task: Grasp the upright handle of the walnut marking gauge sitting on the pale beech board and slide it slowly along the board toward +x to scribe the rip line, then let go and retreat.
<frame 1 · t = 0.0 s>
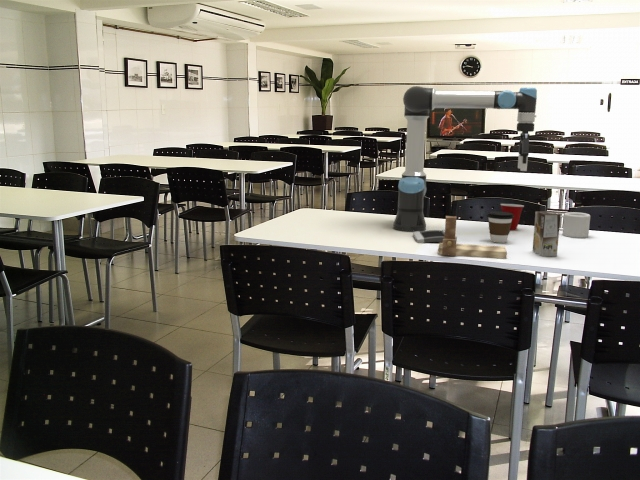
hand: (522, 169, 282), 28 cm above the table, fingers open, 13 cm apart
coffee cup: (498, 241, 260), on the table
coffee box: (544, 254, 237), on the table
plastic cup: (510, 229, 288), on the table
board: (471, 253, 236), on the table
gauge: (450, 234, 235), point 7 cm above the table, slide at 0.0 cm
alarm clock: (433, 241, 262), on the table
mug: (571, 236, 275), on the table
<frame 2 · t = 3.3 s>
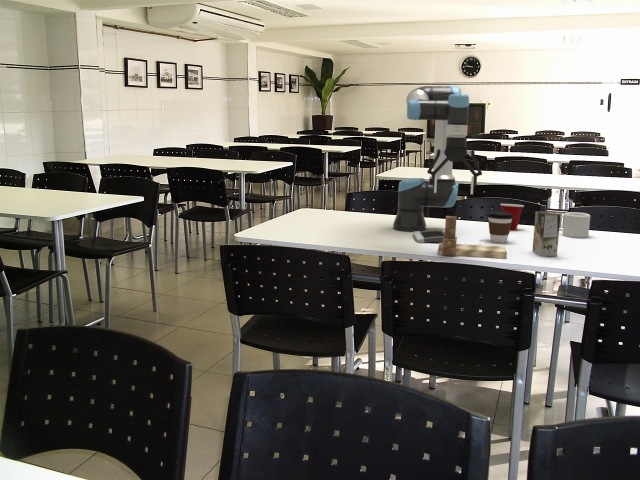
hand: (453, 193, 233), 23 cm above the table, fingers open, 13 cm apart
nothing on the table moved.
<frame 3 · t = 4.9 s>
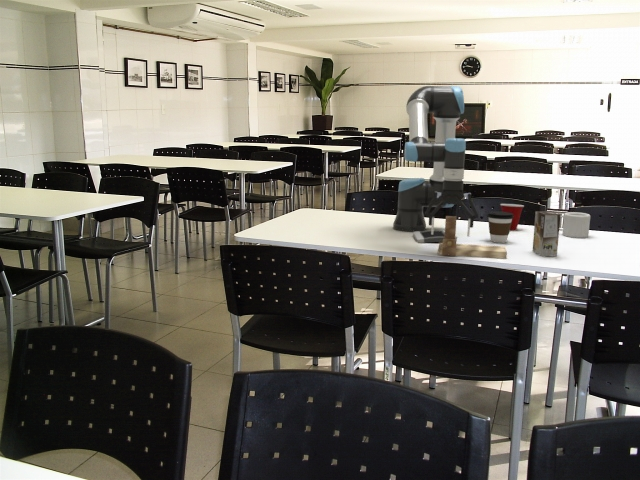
hand: (450, 234, 236), 7 cm above the table, fingers open, 13 cm apart
nothing on the table moved.
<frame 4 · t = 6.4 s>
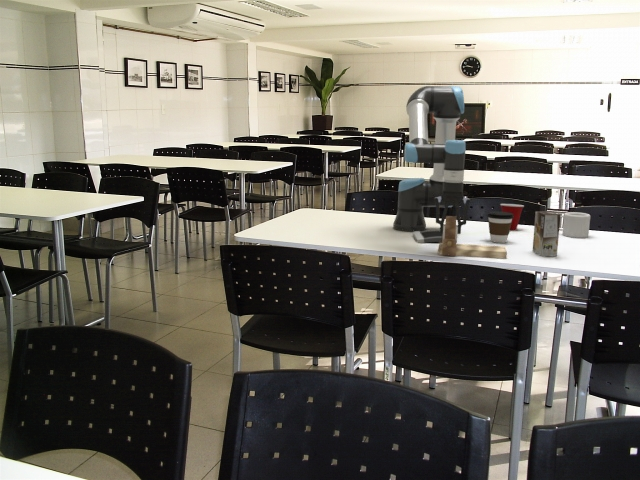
hand: (449, 241, 237), 4 cm above the table, fingers closed on gauge, 4 cm apart
gauge: (450, 234, 235), point 7 cm above the table, slide at 0.0 cm, touching gripper
everything else where it was.
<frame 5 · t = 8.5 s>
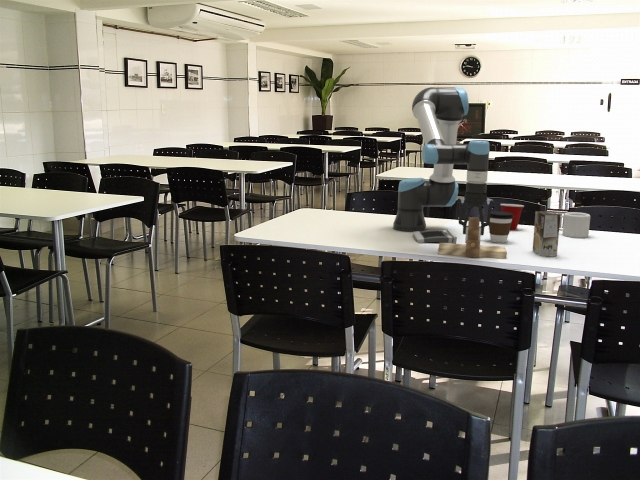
hand: (472, 243, 235), 4 cm above the table, fingers closed on gauge, 4 cm apart
gauge: (473, 236, 233), point 7 cm above the table, slide at 8.6 cm, touching gripper
everything else where it was.
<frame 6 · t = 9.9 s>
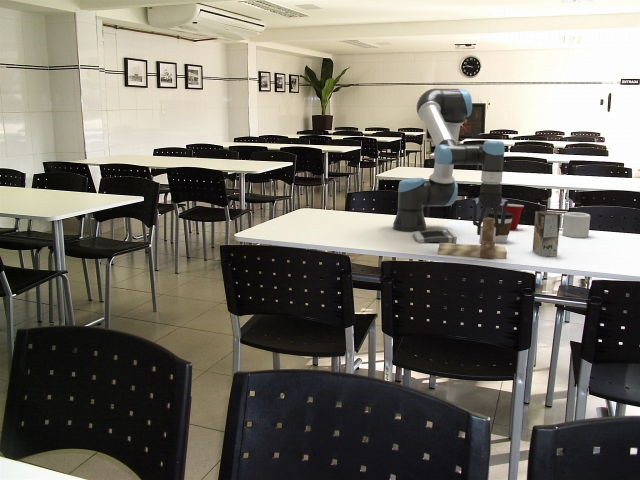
hand: (486, 243, 234), 4 cm above the table, fingers closed on gauge, 4 cm apart
gauge: (487, 237, 232), point 7 cm above the table, slide at 13.9 cm, touching gripper
everything else where it was.
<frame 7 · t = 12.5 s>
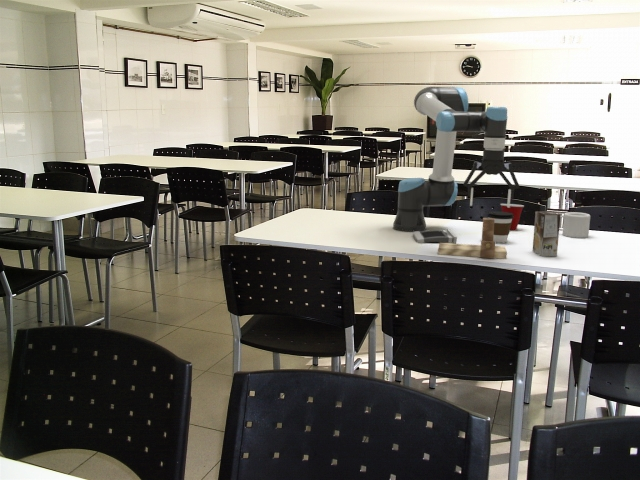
hand: (489, 206, 231), 19 cm above the table, fingers open, 13 cm apart
gauge: (487, 237, 232), point 7 cm above the table, slide at 14.0 cm
everything else where it was.
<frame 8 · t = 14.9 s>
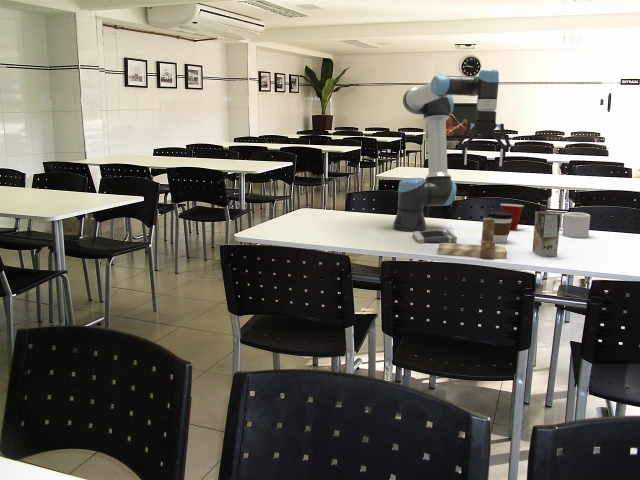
hand: (482, 165, 244), 33 cm above the table, fingers open, 13 cm apart
nothing on the table moved.
at the end: gauge slide at 14.0 cm; the gripper is holding nothing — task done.
